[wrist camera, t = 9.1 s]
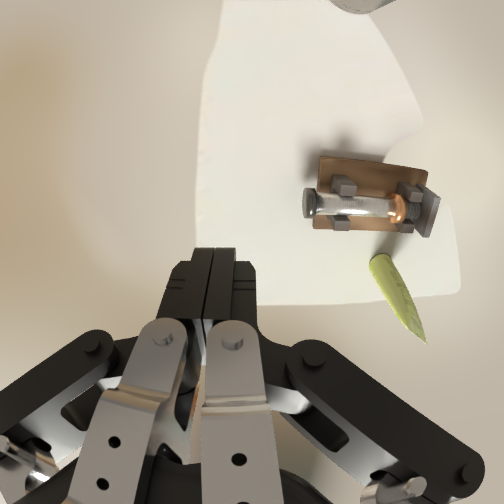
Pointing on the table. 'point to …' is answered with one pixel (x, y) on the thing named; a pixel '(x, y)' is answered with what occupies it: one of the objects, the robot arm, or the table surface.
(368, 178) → the bearing board
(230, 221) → the table surface
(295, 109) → the table surface
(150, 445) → the robot arm
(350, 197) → the shaft
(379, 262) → the tube
